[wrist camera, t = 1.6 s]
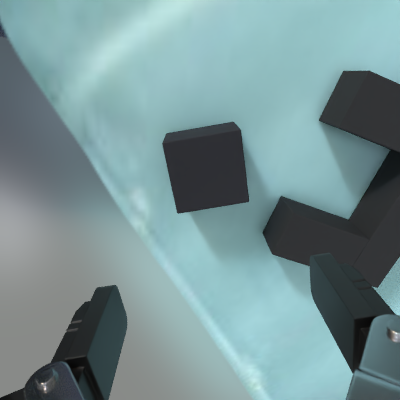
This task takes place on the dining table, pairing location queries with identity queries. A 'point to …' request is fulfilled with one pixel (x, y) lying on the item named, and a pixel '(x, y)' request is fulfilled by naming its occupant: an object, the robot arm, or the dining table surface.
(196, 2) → the dining table surface
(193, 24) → the dining table surface
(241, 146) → the small black block
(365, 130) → the large dark u-shaped block
